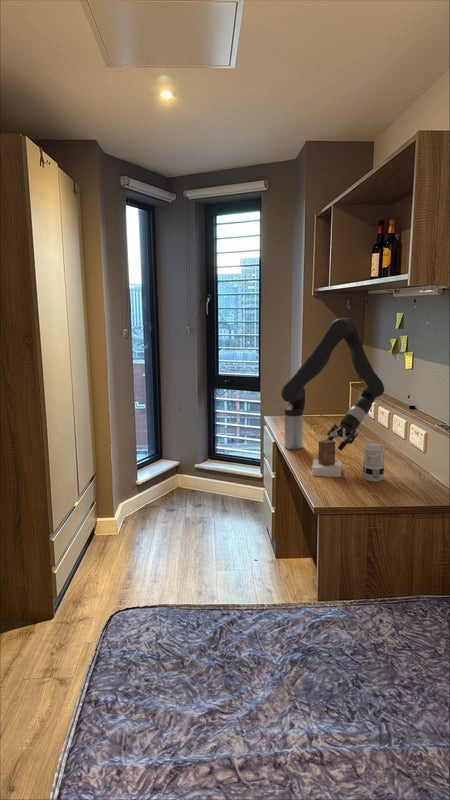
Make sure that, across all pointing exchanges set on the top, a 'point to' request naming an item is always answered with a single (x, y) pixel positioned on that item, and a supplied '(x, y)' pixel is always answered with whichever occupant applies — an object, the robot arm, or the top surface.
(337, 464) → the base block
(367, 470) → the supplement can
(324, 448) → the walnut block
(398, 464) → the top surface
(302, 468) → the top surface
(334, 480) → the top surface
